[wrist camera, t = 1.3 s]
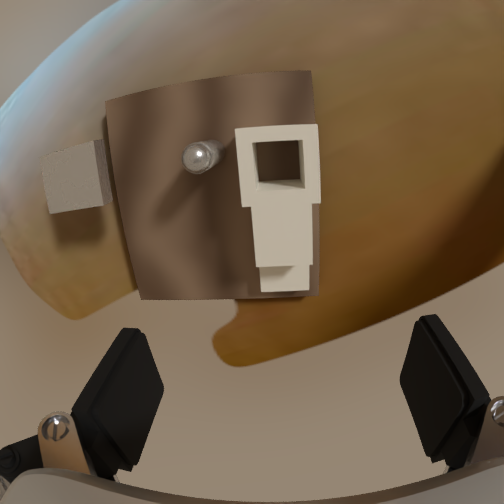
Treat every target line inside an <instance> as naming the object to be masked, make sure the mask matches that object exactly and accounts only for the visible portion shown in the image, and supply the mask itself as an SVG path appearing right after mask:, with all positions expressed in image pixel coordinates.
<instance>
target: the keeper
mask: <svg viewBox="0 0 504 504" xmlns="http://www.w3.org/2000/svg"><path fill="white" fill-rule="evenodd" d="M40 164H41V170H42V177H43V182H44V188H45V193H46V198H47V203H48V208H49V212H50V214H53V213H59V212H65V211H71V210H77V209H84V208H90V207H97V206H104V205H106V204H108V203H109V202H111V201H113V198H112V192H111V186H110V180H109V174H108V167H107V161H106V153H105V146H104V139H101V140H94V141H90V142H86V143H83V144H79V145H76V146H72V147H69V148H66V149H63V150H59V151H56V152H53V153H50V154H47V155H44V156H41V157H40Z"/></svg>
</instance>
